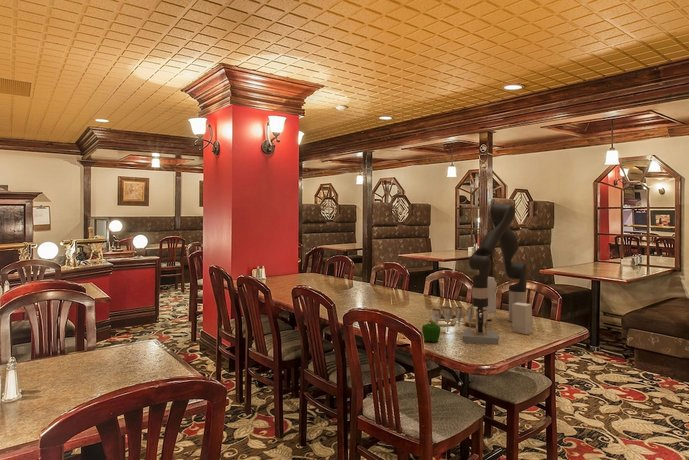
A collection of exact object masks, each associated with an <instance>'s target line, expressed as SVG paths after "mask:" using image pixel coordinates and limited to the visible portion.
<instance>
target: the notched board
mask: <svg viewBox="0 0 689 460" xmlns="http://www.w3.org/2000/svg"><path fill="white" fill-rule="evenodd" d="M462 331H463V332H462V333H463V335H462V343H465V342H466V343H468V344H470V343H471V344H484V345H485V344H487V345H499V336H498V331H493V330H492V331H491V330H490V331H489V330H485V331H486V332H485V333H486V334H485V335H476V334H475V329H474V330H473V329H471V330H470V329H463V330H462Z"/></svg>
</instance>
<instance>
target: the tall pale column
mask: <svg viewBox="0 0 689 460" xmlns="http://www.w3.org/2000/svg"><path fill="white" fill-rule="evenodd" d="M497 283H498V282H496V280H495V277H492V276H488V306H487V307H483V309H484V310H486V311H487V314H489V313H497V299H496V292H497V285H498V284H497Z"/></svg>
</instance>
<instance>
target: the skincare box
mask: <svg viewBox="0 0 689 460" xmlns="http://www.w3.org/2000/svg"><path fill="white" fill-rule="evenodd" d="M532 311H533V310H532V303H527V302H526V303H519V302H517V303H513V304H512V322H511V323H512V332H514V333H519V334H522V335H528V334H533V332H534V331H533V329H534V327H533V312H532Z"/></svg>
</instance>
